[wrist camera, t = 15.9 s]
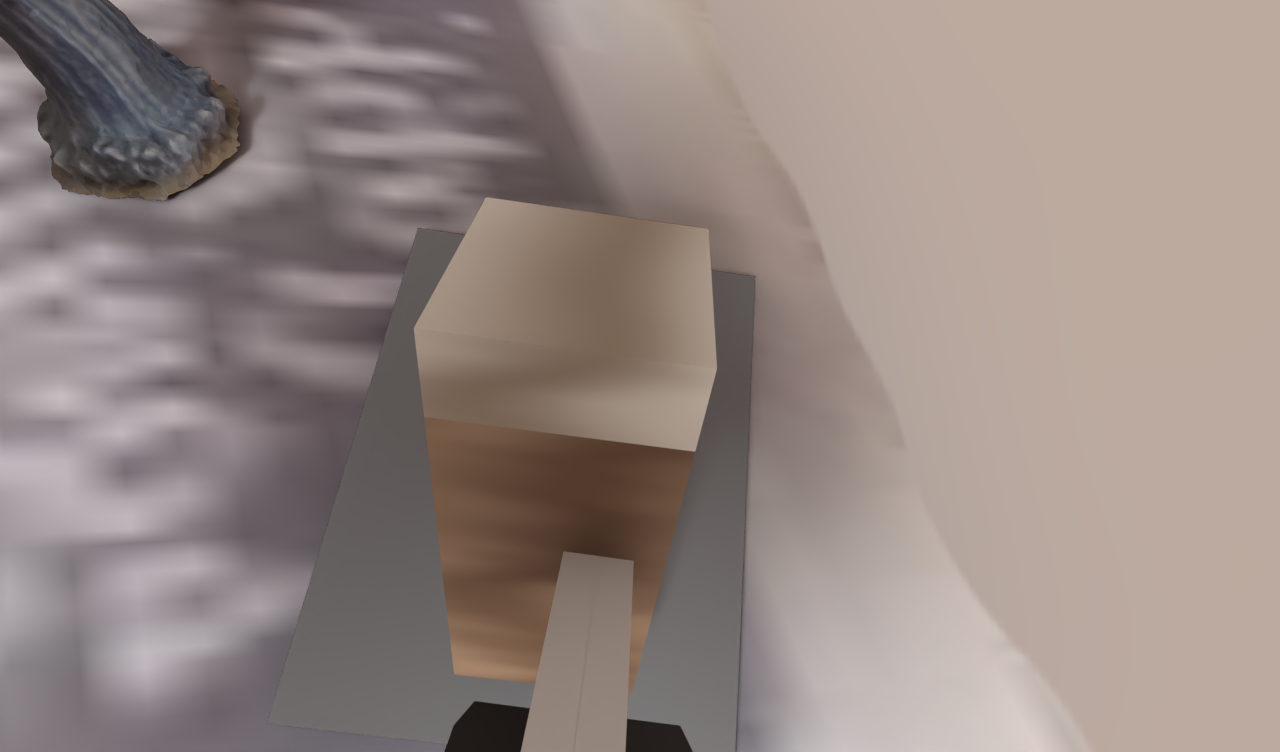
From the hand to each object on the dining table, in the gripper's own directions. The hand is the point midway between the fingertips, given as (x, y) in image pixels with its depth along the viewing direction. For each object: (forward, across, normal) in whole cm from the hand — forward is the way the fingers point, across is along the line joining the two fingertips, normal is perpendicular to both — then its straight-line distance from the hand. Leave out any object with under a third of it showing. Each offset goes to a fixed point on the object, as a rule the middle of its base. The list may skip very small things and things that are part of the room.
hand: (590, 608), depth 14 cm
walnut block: (+5, -1, -4) cm, 7 cm away
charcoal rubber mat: (+10, -2, -2) cm, 10 cm away
